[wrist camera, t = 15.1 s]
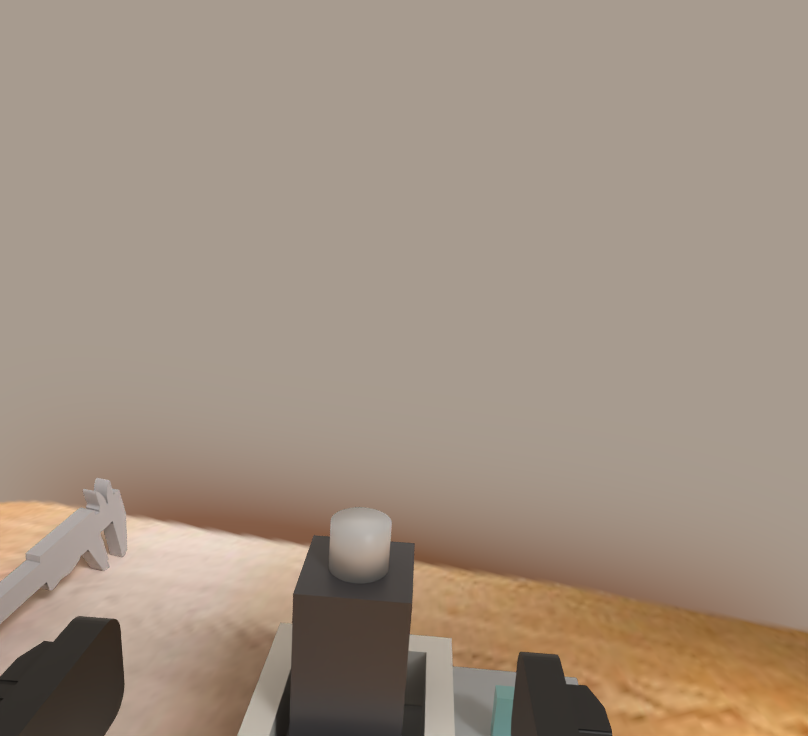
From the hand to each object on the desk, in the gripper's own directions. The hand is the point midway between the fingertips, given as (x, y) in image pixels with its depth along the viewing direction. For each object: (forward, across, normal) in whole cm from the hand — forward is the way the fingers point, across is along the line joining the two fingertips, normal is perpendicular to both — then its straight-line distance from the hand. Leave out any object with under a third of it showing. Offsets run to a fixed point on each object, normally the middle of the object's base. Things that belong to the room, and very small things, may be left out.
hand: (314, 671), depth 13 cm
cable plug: (+12, +1, +14) cm, 19 cm away
